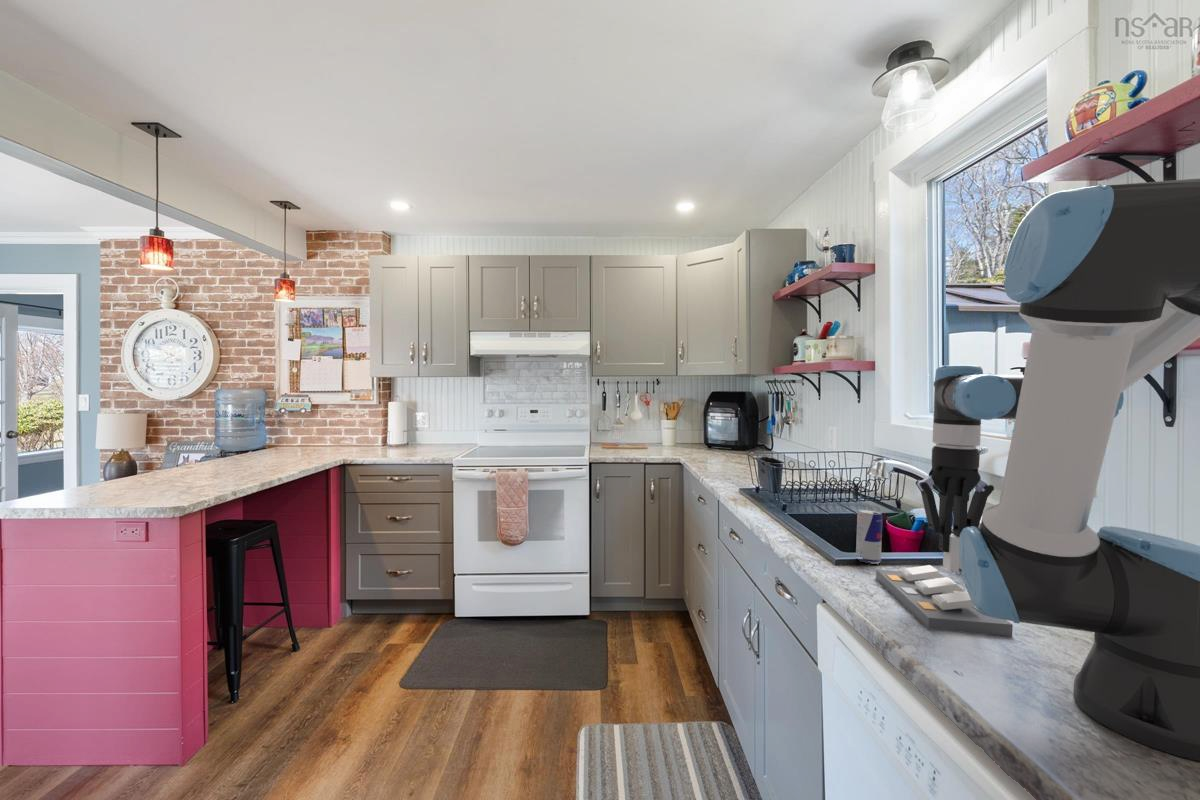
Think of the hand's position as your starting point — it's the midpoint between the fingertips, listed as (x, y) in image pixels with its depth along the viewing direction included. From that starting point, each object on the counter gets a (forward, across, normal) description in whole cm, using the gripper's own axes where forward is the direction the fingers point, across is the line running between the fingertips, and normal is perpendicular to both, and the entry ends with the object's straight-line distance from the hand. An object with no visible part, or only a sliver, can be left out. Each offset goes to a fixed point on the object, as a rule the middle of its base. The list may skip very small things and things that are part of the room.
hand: (950, 568), depth 99 cm
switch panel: (+7, +2, 0) cm, 7 cm away
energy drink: (+7, +6, -24) cm, 26 cm away
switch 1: (+4, +2, -7) cm, 8 cm away
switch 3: (+3, +2, +7) cm, 8 cm away
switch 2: (+4, +2, 0) cm, 4 cm away
